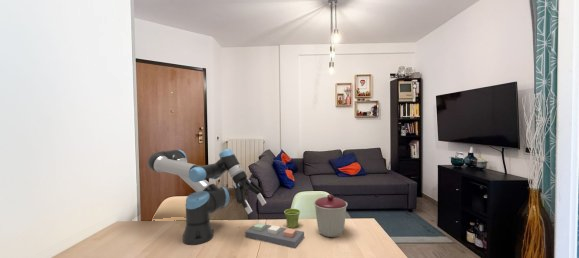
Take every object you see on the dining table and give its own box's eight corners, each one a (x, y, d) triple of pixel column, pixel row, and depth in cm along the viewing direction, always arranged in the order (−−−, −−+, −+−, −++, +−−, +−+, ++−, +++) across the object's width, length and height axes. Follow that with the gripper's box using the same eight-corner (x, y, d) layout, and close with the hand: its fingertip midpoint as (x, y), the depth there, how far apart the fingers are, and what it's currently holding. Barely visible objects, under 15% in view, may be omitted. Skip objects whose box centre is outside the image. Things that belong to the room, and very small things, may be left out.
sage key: (253, 231, 128) (253, 226, 128) (258, 227, 132) (258, 222, 132) (261, 232, 126) (261, 227, 126) (266, 229, 130) (266, 224, 130)
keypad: (245, 237, 126) (245, 231, 126) (257, 228, 137) (257, 222, 137) (295, 248, 114) (294, 242, 114) (304, 237, 124) (304, 231, 124)
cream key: (267, 234, 124) (267, 228, 124) (272, 230, 128) (272, 225, 128) (276, 236, 122) (276, 230, 122) (280, 232, 126) (280, 226, 126)
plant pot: (299, 230, 133) (298, 214, 133) (282, 228, 135) (282, 213, 135) (301, 223, 142) (301, 209, 142) (286, 222, 144) (286, 208, 144)
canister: (343, 225, 138) (342, 189, 138) (352, 240, 120) (351, 199, 120) (312, 226, 138) (311, 190, 138) (316, 241, 120) (316, 200, 120)
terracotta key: (283, 237, 120) (283, 231, 120) (287, 233, 125) (287, 228, 125) (292, 239, 118) (292, 233, 118) (296, 235, 123) (296, 229, 123)
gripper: (227, 175, 118) (248, 213, 113) (255, 166, 141) (273, 198, 136) (218, 182, 121) (238, 220, 116) (246, 173, 143) (264, 204, 138)
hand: (257, 208), depth 126 cm, fingers open, 13 cm apart
